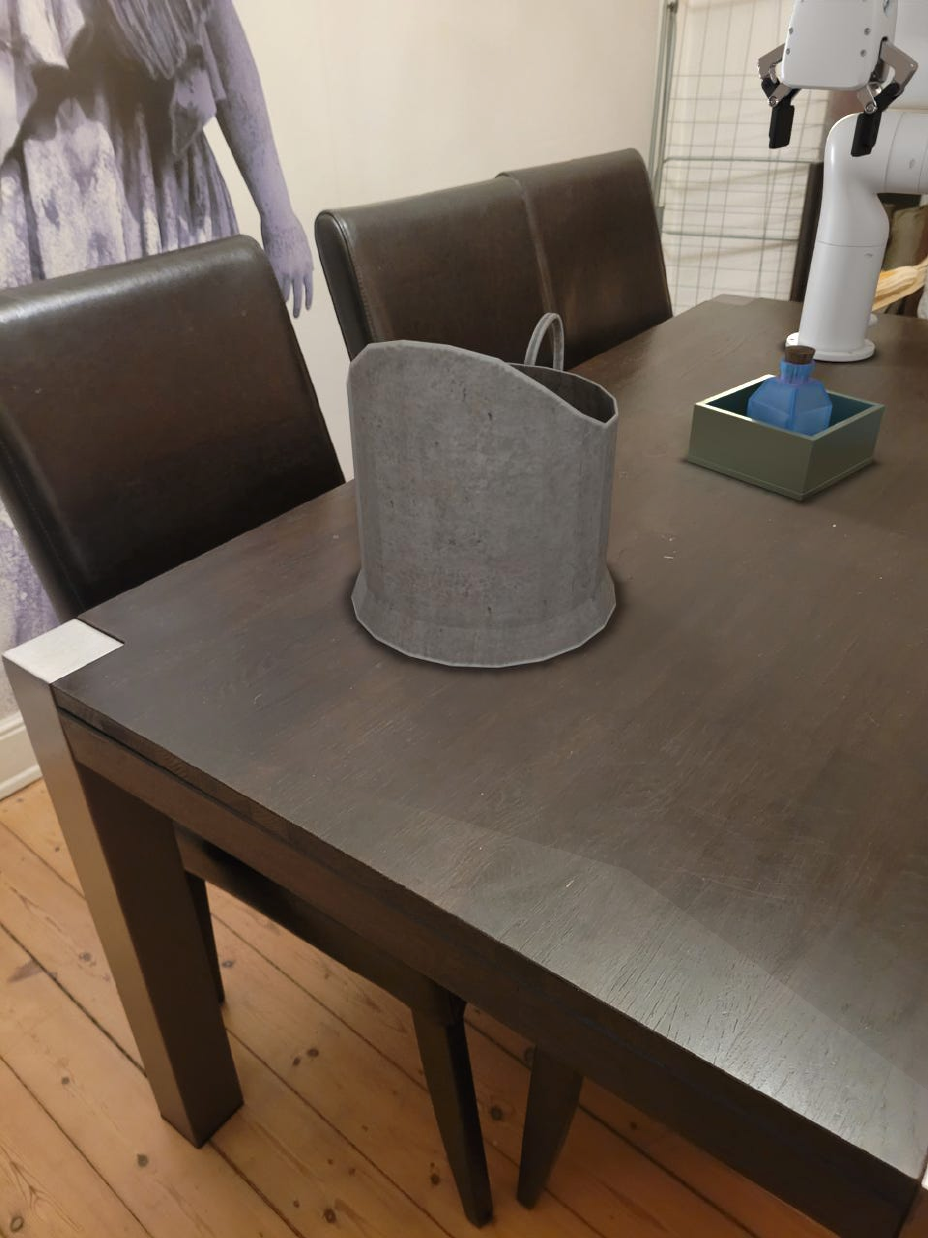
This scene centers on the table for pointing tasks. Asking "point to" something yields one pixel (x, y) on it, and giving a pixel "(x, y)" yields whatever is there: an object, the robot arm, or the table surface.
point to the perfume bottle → (793, 395)
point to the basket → (783, 443)
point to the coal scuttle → (480, 502)
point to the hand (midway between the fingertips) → (818, 151)
